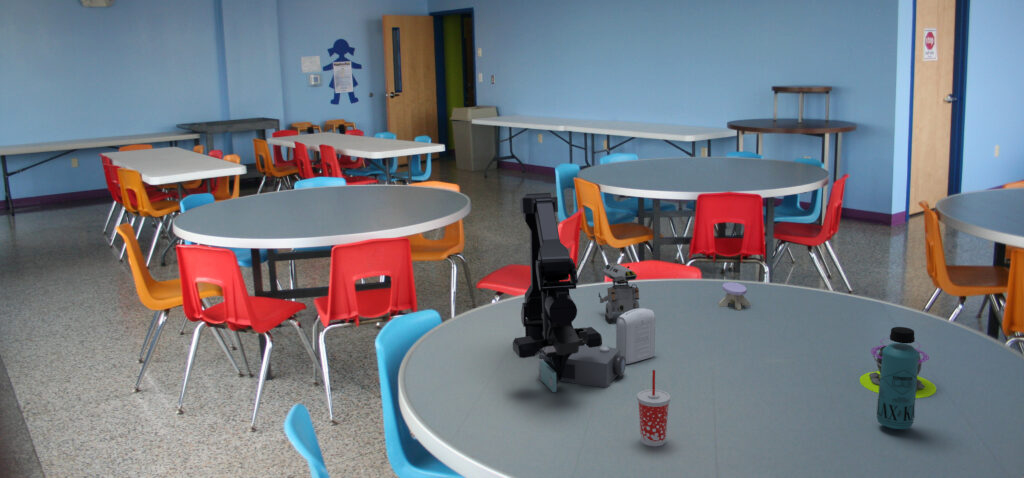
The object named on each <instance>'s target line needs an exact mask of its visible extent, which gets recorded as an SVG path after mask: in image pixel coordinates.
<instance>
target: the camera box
mask: <svg viewBox="0 0 1024 478" xmlns="http://www.w3.org/2000/svg"><path fill="white" fill-rule="evenodd" d="M539 359H544V361H545V362H546V363H547V364H548V365H549V366H550V367H551V368H552V369H553V370H554V368H553V366H552V364H551V361H550V359H549V358H548V357H546V356H545V355H544V354H543V353H542V352H540V354H538V360H539ZM626 365H627V364H626V360H625V357H624V356H621V355H620V349H617V348H616V347H609V346H602V345H601V346H598V347H591V348H589V347H588V346H587V345H586V344H585V345H584V346H579V351H578V353H575V354H572V355H570V356H569V358H568V360H567V362H566V364H565V368H564V371H563V374H562V377H561V380H558V378H557V375H556V381H558V382H567V383H573V384H578V385H579V384H580V385H584V386H585V385H586V386H594V387H600V388H608V387H609V386H610V385H611V383H612V382H613V381H614V380H615V379H616V378H617V376H620V377H621V376H623V375H624V373H625V370H626Z"/></svg>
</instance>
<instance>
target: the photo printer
mask: <svg viewBox="0 0 1024 478" xmlns="http://www.w3.org/2000/svg"><path fill="white" fill-rule="evenodd" d="M615 329H616V332H615V333H616V334H615V335H616V336H615V338H616V339H615V345H616V346H615V348H617V349H620V355H621V356H624V357H625V360H626V365H629V364H633V363H636V362H639V361H640V362H641V361H644V360H647V359H651V358H653V357H655V354H656V315H655V313H654V311H653V310H652V309H648V308H646V307H645V308H644V307H642V308H641V307H639V308H638V309H633V310H630V311H628V312H623V313H622V314H621V315H619V316H618V317H617V319H616V327H615Z"/></svg>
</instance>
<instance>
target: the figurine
mask: <svg viewBox="0 0 1024 478" xmlns="http://www.w3.org/2000/svg"><path fill="white" fill-rule="evenodd" d="M630 268H631V267H630V266H629V265H627V267H626V266H624V265H621V264H620V263H618V262H609V263H608V264H607V265H605V267H604V268H603V269H602V274H603V276H605V277H607V278H609V279H611V280H612V286H611V287H607V288H606V290H607V291H606V292H607V295H605V296H604V297H602V295H601V294H600V293H601V292H598V298H599V299H600V300H599V303H600V304H603V303H605V302H606V303H605V312H604V313H605V314H604V319H605V321H606V322H607V323H608V324H613V323H614V318H613V315H614V314H613V313H625V312H628V311H630V310H633V309H638V308H640V304H639V300H640V293H639V292H640V291H639V287H638V286H637V285H636V284H632V285H631V286H630V284H629V282H630V281H634V280H635V281H636V280H637V277H638V274H636V273H635V271H634V270H632V269H630ZM633 286H635V287H633Z"/></svg>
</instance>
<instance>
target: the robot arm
mask: <svg viewBox="0 0 1024 478" xmlns="http://www.w3.org/2000/svg"><path fill="white" fill-rule="evenodd" d="M558 200H559V199H558V196H552V193H551V192H536V193H534V192H533V193H525V194H524V196H523V197H522V198H520V200H519V202H520V203H519V207H520V208H519V209H520V214H522V217H523V219H524V221H525V223H526V225H527V227H528V229H529V255H530V256H529V257H530V258H529V259H530V260H529V261H530V265H529V267H530V285H529V287H527V289H526V291H525V293H524V302H522V305H521V310H520V317H521V324H522V326H523V328H524V329H525V331H524V332H525V333H524V334H525V336H521V337H515V338H514V339H513V341H512V350H513V352H514V353H515V354H516V355H517V357H519V359H526V358H531V357H535V356H536V355H537V354H538V351H540V353H543V354H544V355H545V356H546V357H548V358H549V359H550V361H551V364H552V366H553V368H554V371H555V372H556V375H557V378H558V380H561V377H562V374H563V371H564V368H565V364H566V362H567V360H568V358H569V356H570V355H572V354H575V353H578V351H579V346H584V345H587V346H588V347H589V348H591V347H598V346H601V347H602V345H603V338H602V334H601V333H600V332H598V331H597V330H596V329H595V328H594V327H592V326H589V327H579V328H578V327H575V328H574V326H573V322H574V321H575V319H576V317H577V314H578V308H577V305H576V303H575V301H574V300H573V299H572V297H571V295H570V290H576V289H577V284H578V281H579V278H578V273H577V272H578V271H577V267H576V263H575V262H574V259H573V258H572V257H570V252H569V249H568V247H567V246H565V245H564V244H563V243H562V242H561V238H560V235H559V234H560V233H559V228H558V223H557V222H558V221H557V217H556V213H558V212H559V204H558V203H559V201H558ZM558 380H557V381H558Z"/></svg>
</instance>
